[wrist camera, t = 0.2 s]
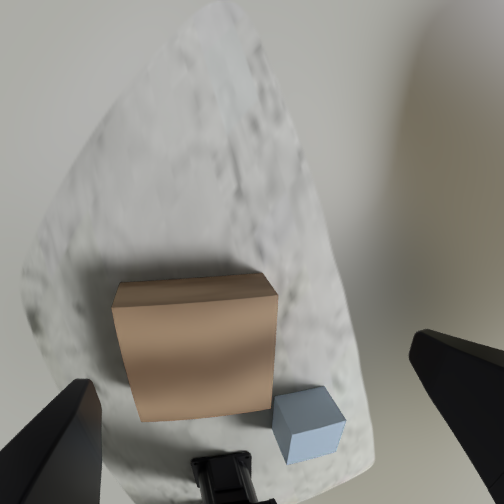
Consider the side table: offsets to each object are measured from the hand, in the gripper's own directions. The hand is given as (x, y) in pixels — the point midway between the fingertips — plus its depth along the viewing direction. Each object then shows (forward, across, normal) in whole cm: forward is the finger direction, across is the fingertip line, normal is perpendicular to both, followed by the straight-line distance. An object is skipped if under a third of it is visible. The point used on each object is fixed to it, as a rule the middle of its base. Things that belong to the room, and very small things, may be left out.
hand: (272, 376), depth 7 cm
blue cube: (+14, -8, +18) cm, 24 cm away
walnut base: (+15, +1, +8) cm, 17 cm away
